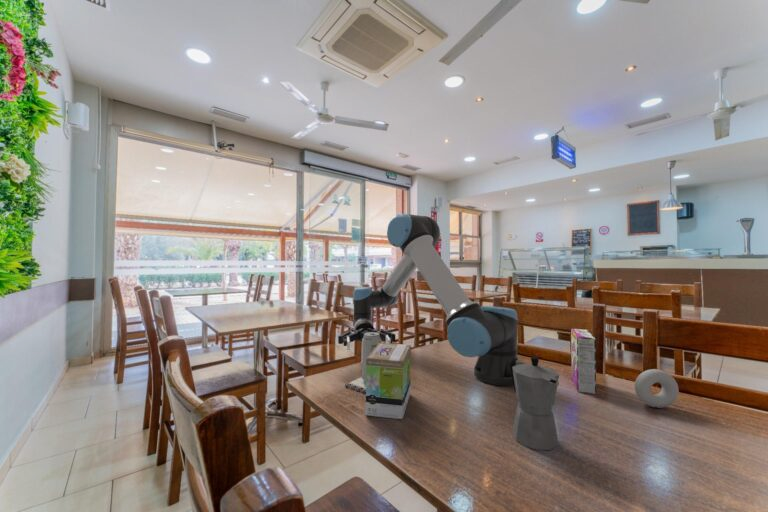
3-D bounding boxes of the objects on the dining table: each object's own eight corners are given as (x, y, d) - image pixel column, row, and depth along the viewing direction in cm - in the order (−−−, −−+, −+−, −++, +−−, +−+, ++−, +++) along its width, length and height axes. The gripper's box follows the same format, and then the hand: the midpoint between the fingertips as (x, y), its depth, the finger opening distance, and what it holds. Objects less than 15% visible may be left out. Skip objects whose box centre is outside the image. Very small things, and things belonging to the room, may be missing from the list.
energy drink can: (372, 376, 106) (371, 330, 106) (385, 381, 102) (385, 333, 101) (358, 381, 101) (358, 333, 101) (371, 387, 97) (371, 337, 97)
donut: (672, 405, 86) (672, 367, 86) (682, 411, 83) (682, 372, 83) (631, 403, 87) (631, 366, 87) (640, 409, 84) (640, 371, 84)
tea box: (404, 420, 79) (404, 360, 79) (364, 416, 81) (364, 357, 81) (411, 394, 94) (411, 343, 94) (377, 391, 96) (377, 341, 96)
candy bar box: (570, 378, 105) (570, 328, 105) (588, 380, 103) (588, 329, 103) (576, 392, 94) (576, 336, 94) (596, 395, 93) (596, 338, 92)
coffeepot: (576, 453, 66) (577, 365, 66) (536, 460, 64) (536, 369, 63) (527, 416, 81) (527, 344, 81) (493, 420, 79) (493, 347, 78)
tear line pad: (394, 382, 102) (394, 379, 102) (370, 395, 93) (370, 392, 93) (369, 374, 108) (369, 372, 108) (345, 386, 99) (345, 384, 99)
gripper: (395, 337, 129) (406, 354, 108) (332, 340, 126) (331, 358, 105) (395, 319, 129) (406, 332, 108) (332, 321, 126) (330, 335, 105)
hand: (369, 345), depth 106 cm, fingers open, 13 cm apart
